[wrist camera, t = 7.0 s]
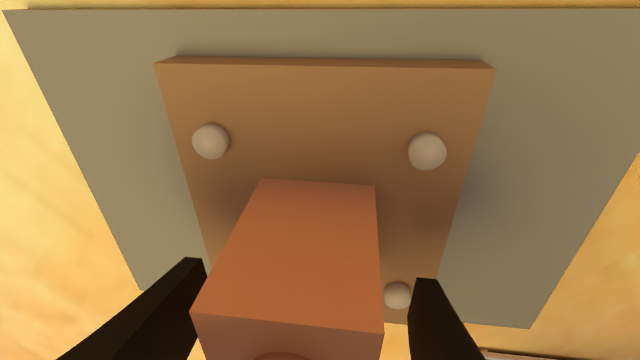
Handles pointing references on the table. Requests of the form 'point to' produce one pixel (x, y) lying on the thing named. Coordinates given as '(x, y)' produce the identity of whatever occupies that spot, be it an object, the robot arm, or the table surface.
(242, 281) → the snap block
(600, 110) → the build base
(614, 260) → the table surface
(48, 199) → the table surface
